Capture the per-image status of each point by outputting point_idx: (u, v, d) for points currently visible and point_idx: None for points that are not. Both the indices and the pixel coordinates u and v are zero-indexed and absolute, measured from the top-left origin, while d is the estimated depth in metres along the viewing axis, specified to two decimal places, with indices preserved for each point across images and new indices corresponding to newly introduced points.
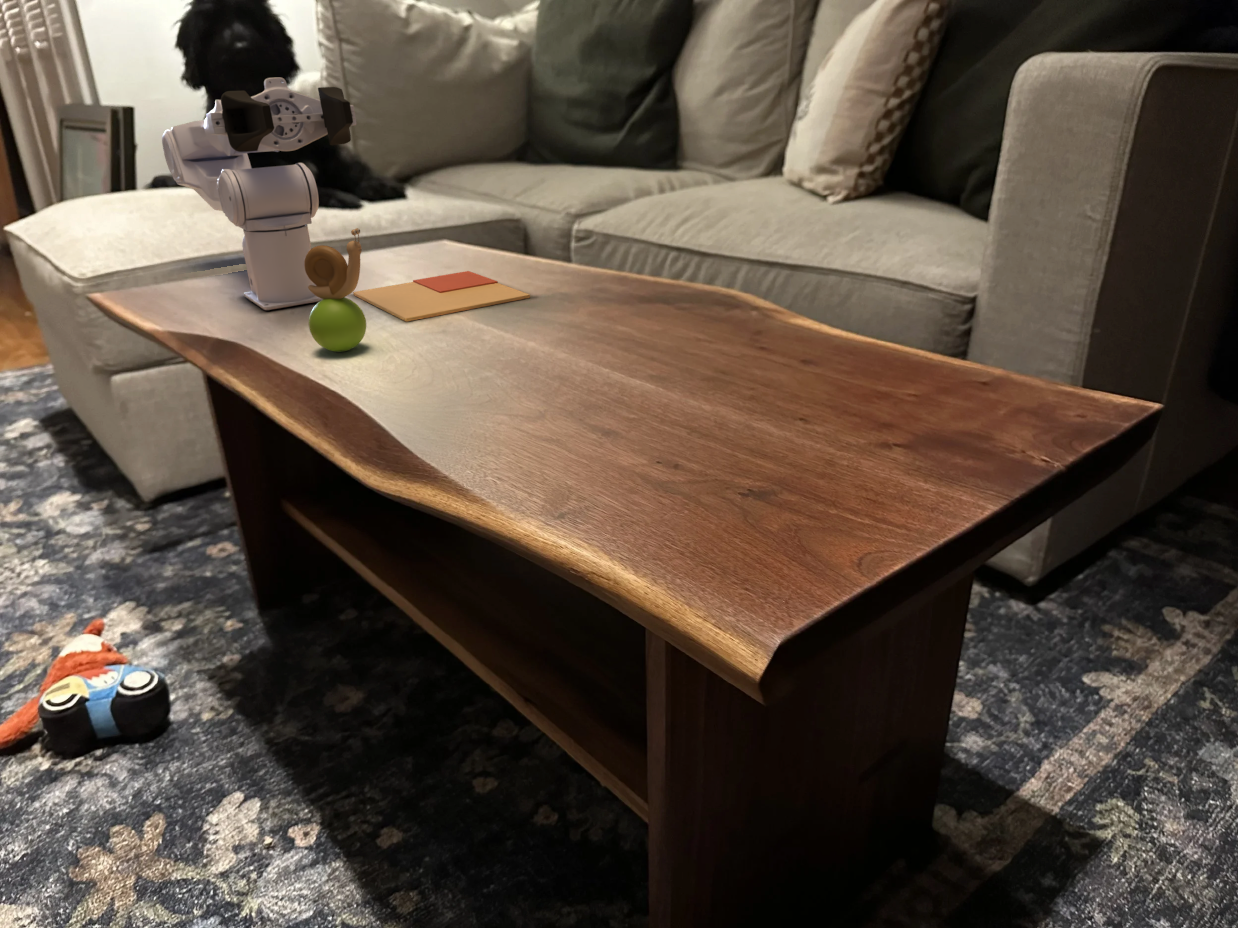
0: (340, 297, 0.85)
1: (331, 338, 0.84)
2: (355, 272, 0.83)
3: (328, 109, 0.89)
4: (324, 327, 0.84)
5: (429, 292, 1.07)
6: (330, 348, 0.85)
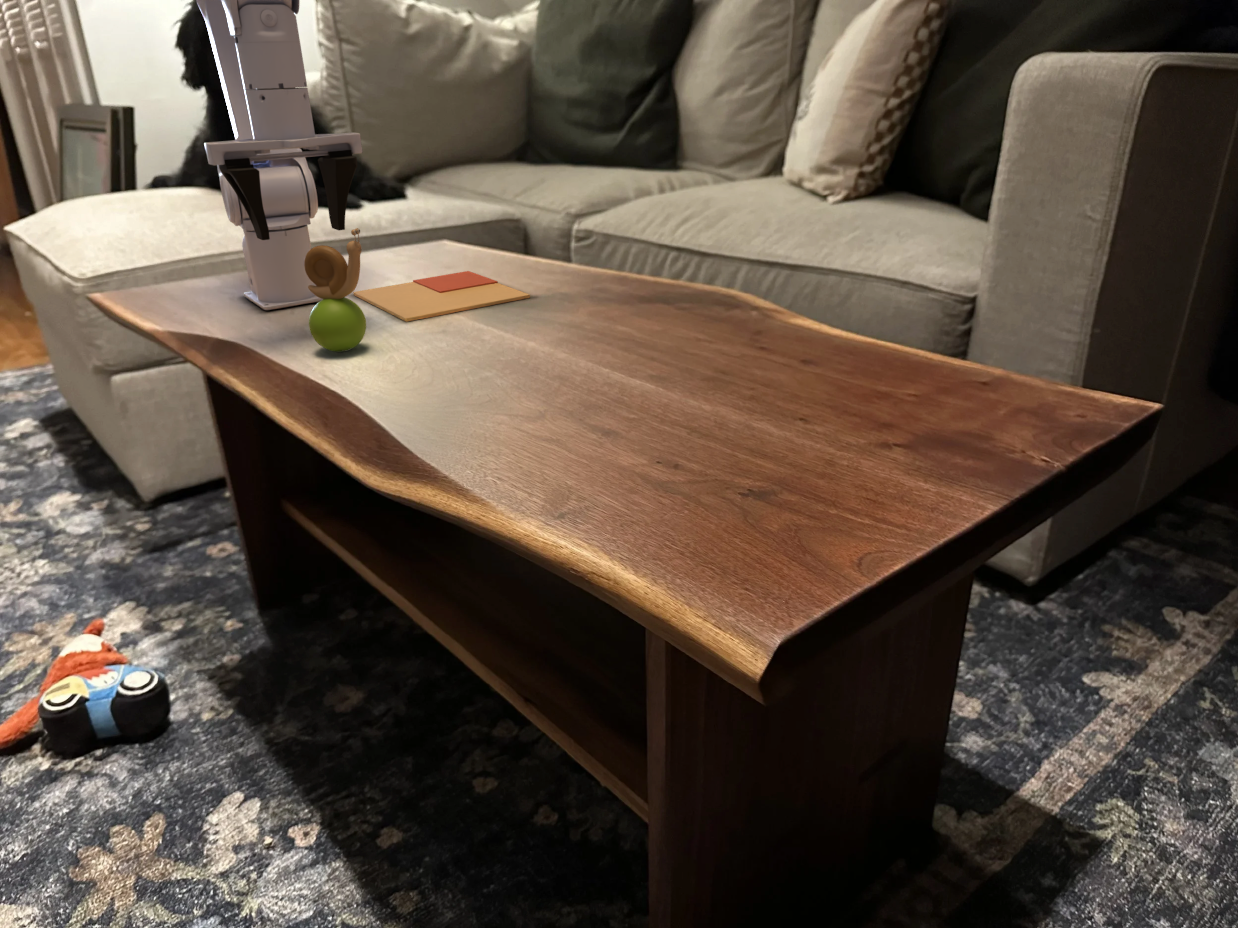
0: (340, 297, 0.85)
1: (331, 338, 0.84)
2: (355, 271, 0.83)
3: (331, 179, 0.88)
4: (324, 327, 0.84)
5: (429, 292, 1.07)
6: (330, 348, 0.85)
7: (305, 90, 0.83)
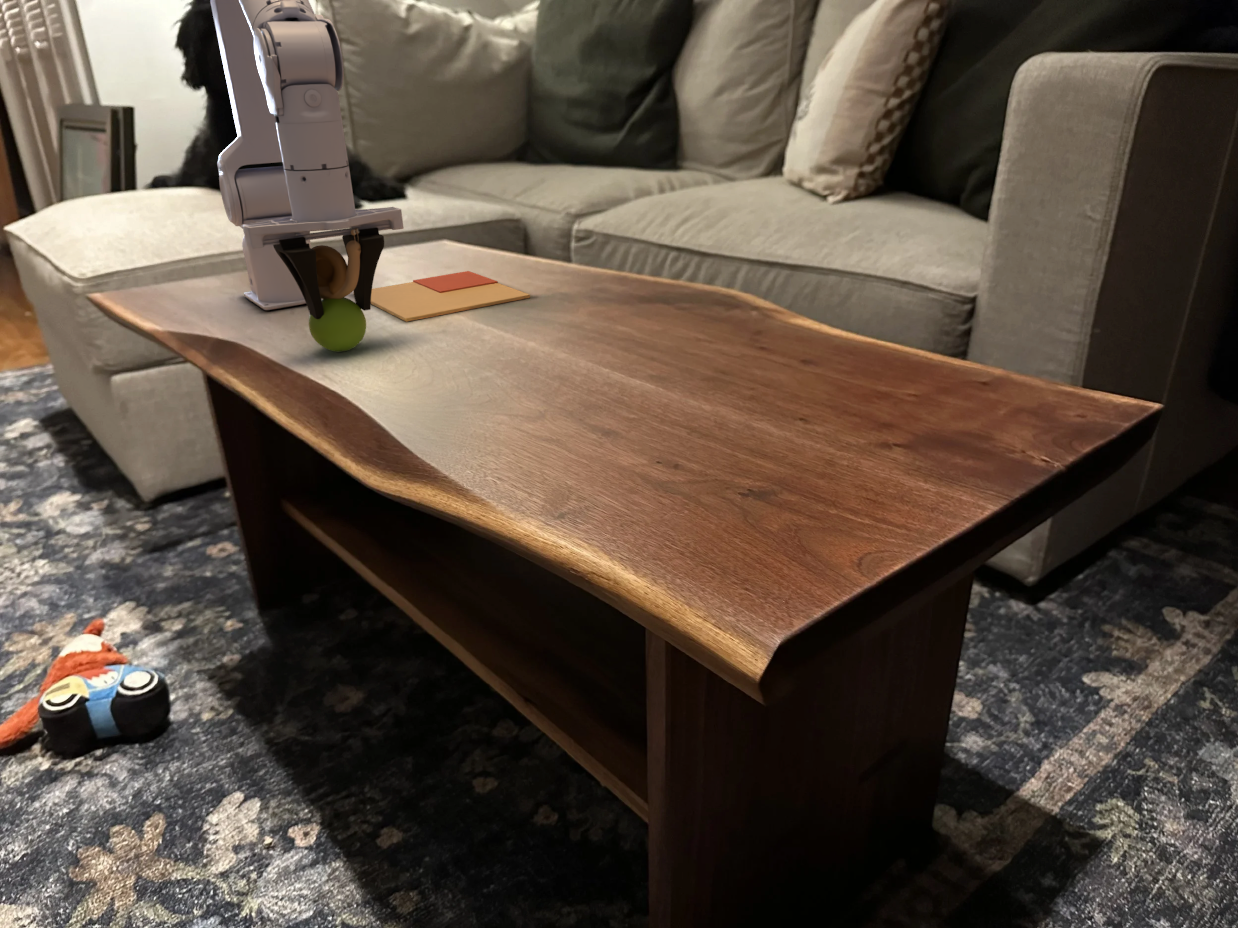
0: (340, 297, 0.85)
1: (331, 338, 0.84)
2: (355, 271, 0.83)
3: None
4: (324, 327, 0.84)
5: (429, 292, 1.07)
6: (330, 348, 0.85)
7: (347, 169, 0.80)
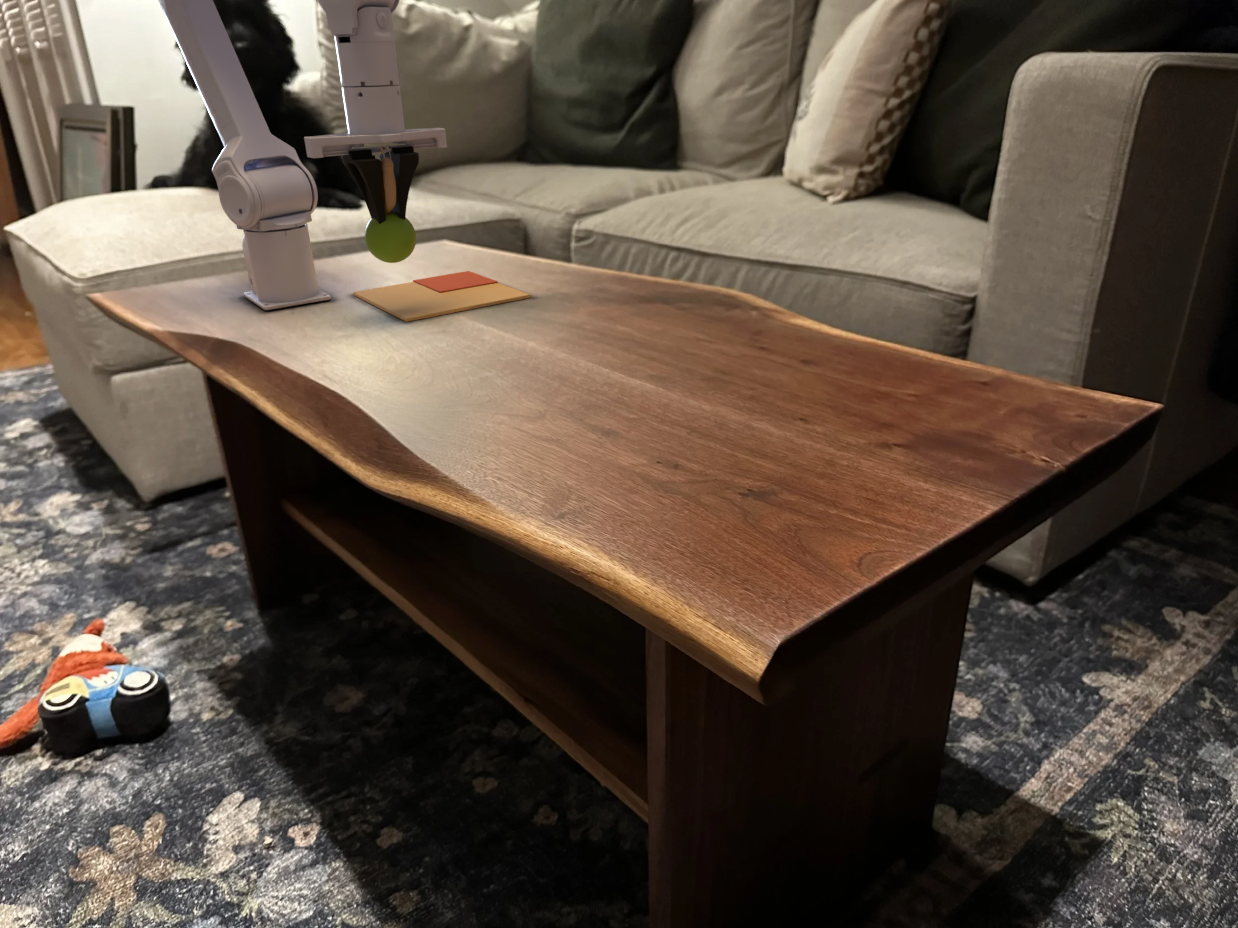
0: (385, 211, 0.93)
1: (371, 247, 0.93)
2: (387, 186, 0.90)
3: None
4: (366, 237, 0.93)
5: (429, 292, 1.07)
6: (377, 258, 0.95)
7: (398, 87, 0.88)
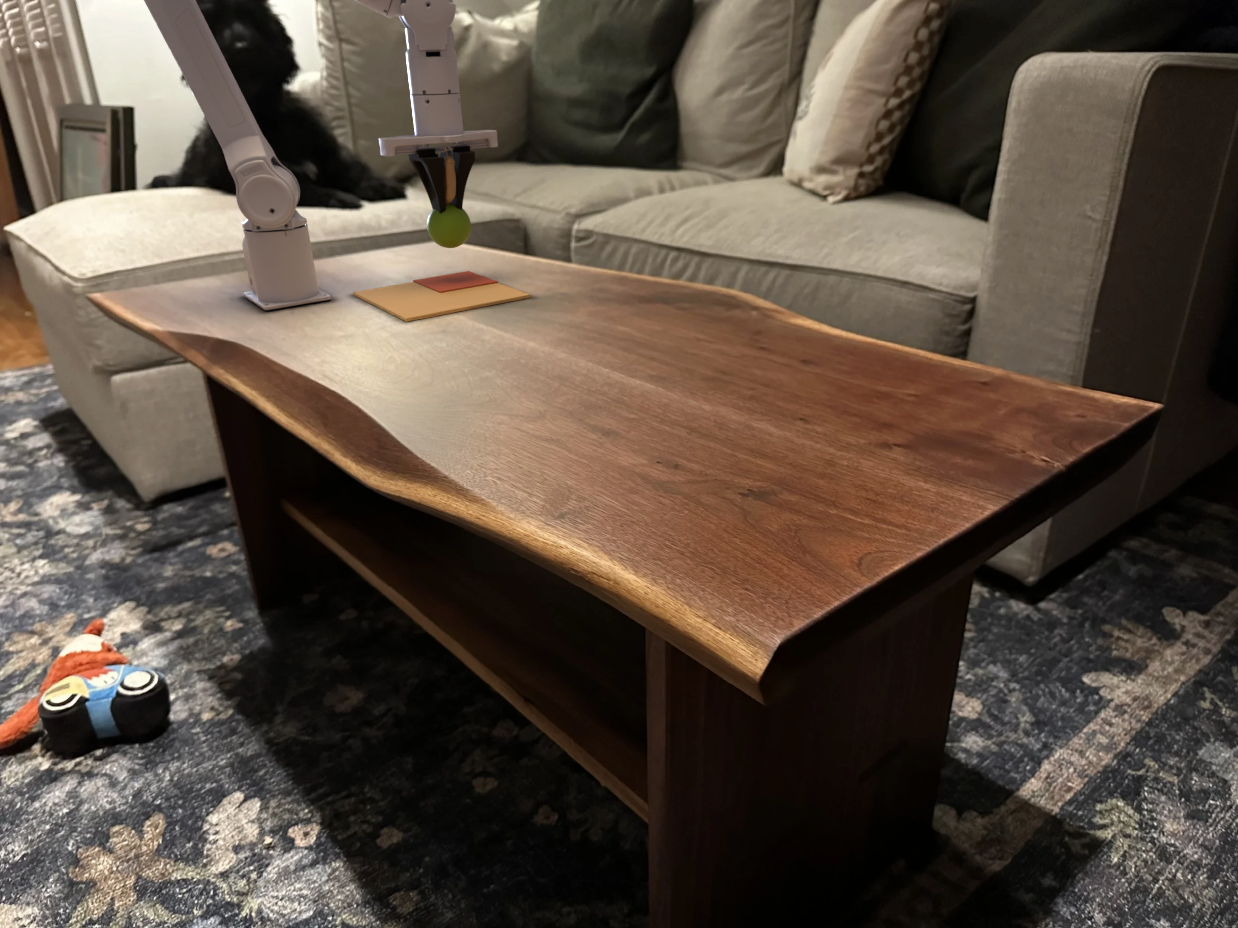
0: (446, 203, 1.07)
1: (433, 235, 1.07)
2: (449, 181, 1.04)
3: None
4: (429, 226, 1.07)
5: (429, 292, 1.07)
6: None
7: (459, 95, 1.02)
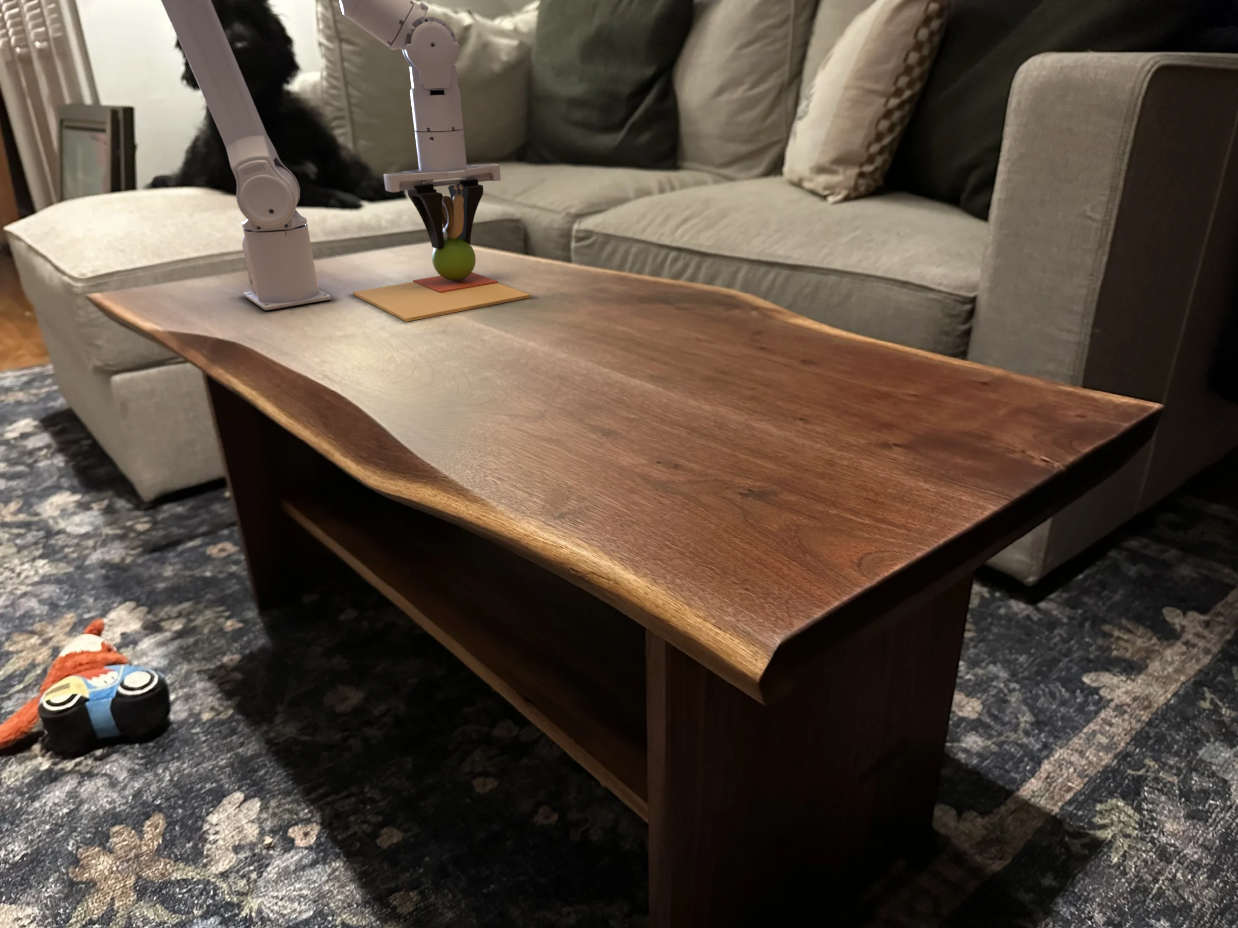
0: (452, 237, 1.08)
1: (438, 268, 1.09)
2: (457, 218, 1.06)
3: None
4: (434, 259, 1.09)
5: (429, 292, 1.07)
6: None
7: (462, 131, 1.04)
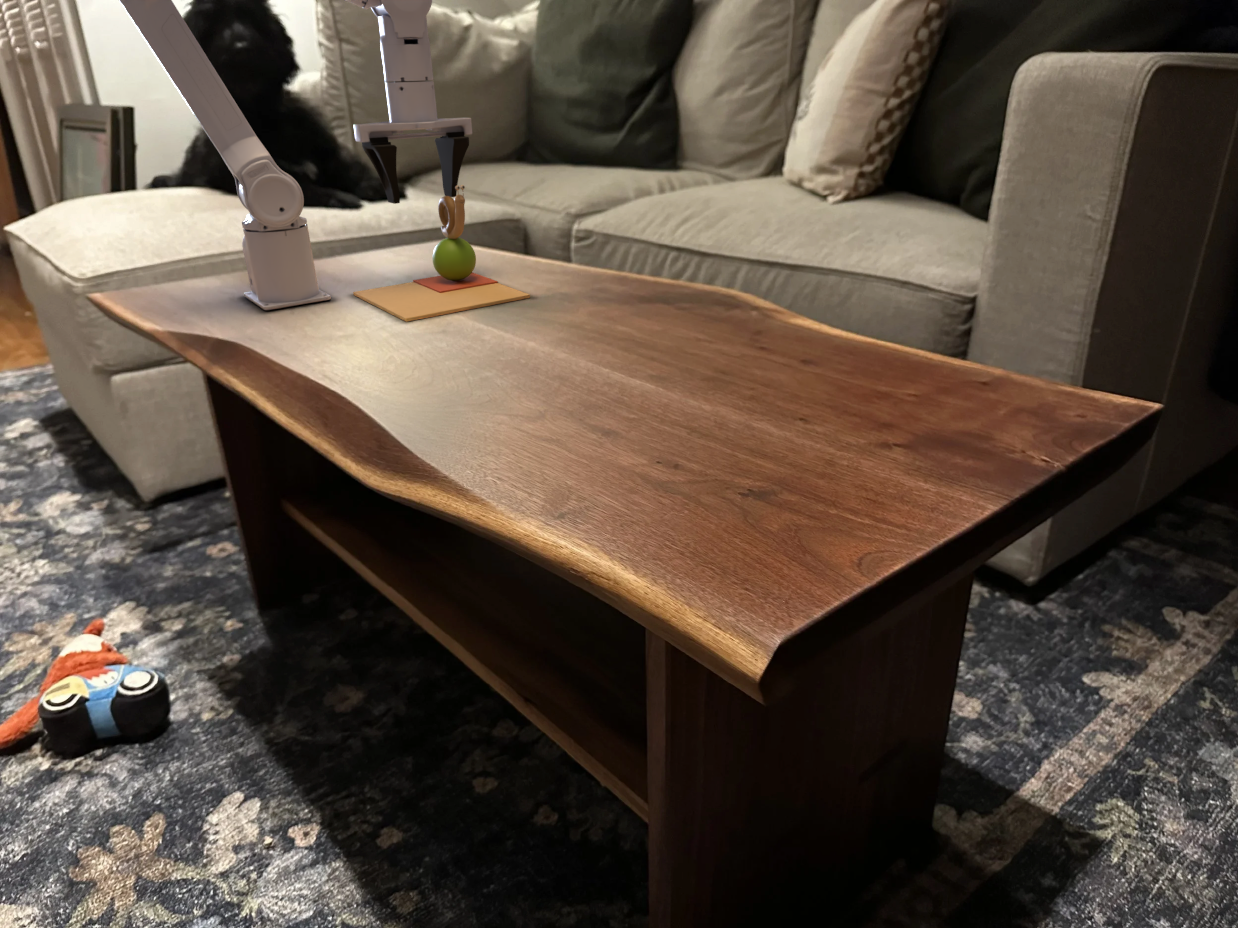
0: (453, 238, 1.08)
1: (438, 268, 1.09)
2: (458, 219, 1.06)
3: (447, 155, 1.09)
4: (434, 259, 1.09)
5: (429, 292, 1.07)
6: (442, 276, 1.10)
7: (432, 83, 1.04)
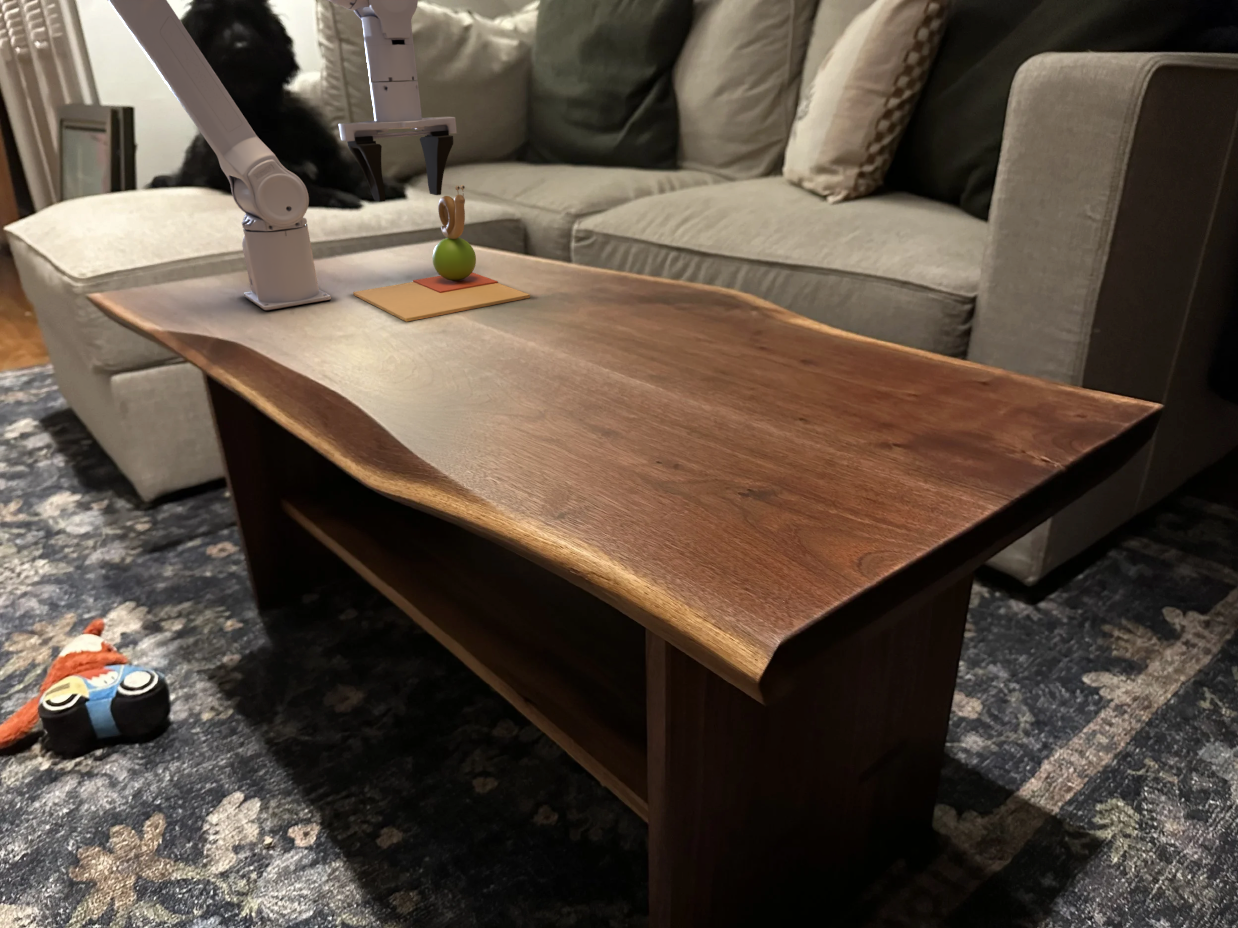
0: (453, 238, 1.08)
1: (438, 268, 1.09)
2: (458, 219, 1.06)
3: (432, 153, 1.11)
4: (434, 259, 1.09)
5: (429, 292, 1.07)
6: (442, 276, 1.10)
7: (416, 82, 1.06)
